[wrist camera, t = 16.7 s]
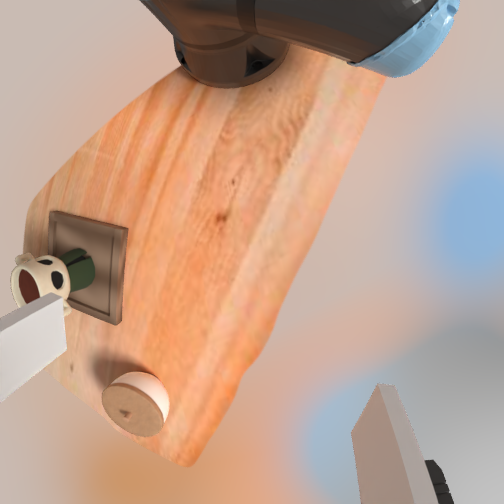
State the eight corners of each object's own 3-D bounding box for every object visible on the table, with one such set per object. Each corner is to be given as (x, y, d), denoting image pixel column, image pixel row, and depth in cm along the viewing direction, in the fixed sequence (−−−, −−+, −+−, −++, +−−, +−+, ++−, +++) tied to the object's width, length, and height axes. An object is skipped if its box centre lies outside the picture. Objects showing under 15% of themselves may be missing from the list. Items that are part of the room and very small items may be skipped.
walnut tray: (56, 210, 42) (49, 211, 40) (128, 228, 40) (121, 230, 39) (55, 294, 45) (49, 297, 43) (121, 321, 44) (116, 325, 42)
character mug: (115, 278, 41) (59, 309, 29) (94, 306, 43) (42, 340, 30) (72, 226, 41) (12, 241, 28) (55, 257, 42) (-2, 277, 30)
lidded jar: (112, 371, 47) (85, 400, 38) (150, 352, 44) (123, 384, 35) (149, 415, 48) (128, 447, 39) (190, 400, 45) (172, 437, 36)
